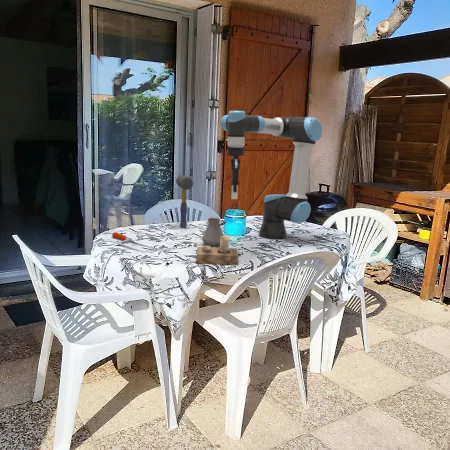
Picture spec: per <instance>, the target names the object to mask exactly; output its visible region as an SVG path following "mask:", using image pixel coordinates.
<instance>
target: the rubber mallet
mask: <svg viewBox="0 0 450 450" xmlns="http://www.w3.org/2000/svg"><path fill="white" fill-rule="evenodd" d="M175 183H176V185H177V186H178V187H179V188H180V189H181V202H180V208H179V209H180V211H179V212H180V221H179V226H180V228H182V229H185V228H187V225H188V224H187V215H188V206H187V205H188V204H187V190H190V189H192V187H193V186H194V180H193V179H192V178H191V177H190V176H188V175H183V174H180V175H177V177H176V178H175Z"/></svg>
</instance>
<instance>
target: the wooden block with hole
mask: <svg viewBox="0 0 450 450" xmlns="http://www.w3.org/2000/svg"><path fill="white" fill-rule="evenodd" d="M196 247H197V248H196V249H197V250H196V257H195V258H196V260H195V261H196V262H195V264H204V265H205V264H208V265H228V266H229V265H231V266H232V265H236V266H238V264H239V253H238V248H234V247H233V248H232V247H229V253H220V247H212V246H208V245H206V244H205V245H202V246H201V247H200V246H196Z"/></svg>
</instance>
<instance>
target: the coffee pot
mask: <svg viewBox="0 0 450 450" xmlns="http://www.w3.org/2000/svg"><path fill="white" fill-rule="evenodd" d="M207 222H208V225H207V226H206V228H205V231H204V233H203V235H202V238H201V240H202V242H203V243H204V244H205V245H207V246H211V247H220V236H222V235H224V233H223V231H222V228H221V226H225V225H226V224H227V221H223V222H221V219H220V218H215V217H211V218H210V217H209V218H208V219H207ZM220 222H221V223H220Z"/></svg>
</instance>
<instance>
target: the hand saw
mask: <svg viewBox="0 0 450 450" xmlns="http://www.w3.org/2000/svg"><path fill="white" fill-rule="evenodd" d="M111 237H112V238H113V239H116V240H120V241H119V242H117V244H118V245H119V246H120V247H124V248H126V249H129V250H133V251H136V252H139V251H140V252H141V253H149V251H150V252H154V250H155V251H160V249H159V248H155V247H152V246H149V245H146V244H143V243H140V242H137V241H135V240H134V239H133V238H132V237H129V236H127V235H125V234H121V232H120V233H119V232H115V231H114V232H113V233H112V234H111ZM124 243H135V244H138V245H142V246H144V247H148V248H151V249H149V250H140V249H138V248H135V247H133V246H130V245H126V244H124ZM153 248H154V249H153Z"/></svg>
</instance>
